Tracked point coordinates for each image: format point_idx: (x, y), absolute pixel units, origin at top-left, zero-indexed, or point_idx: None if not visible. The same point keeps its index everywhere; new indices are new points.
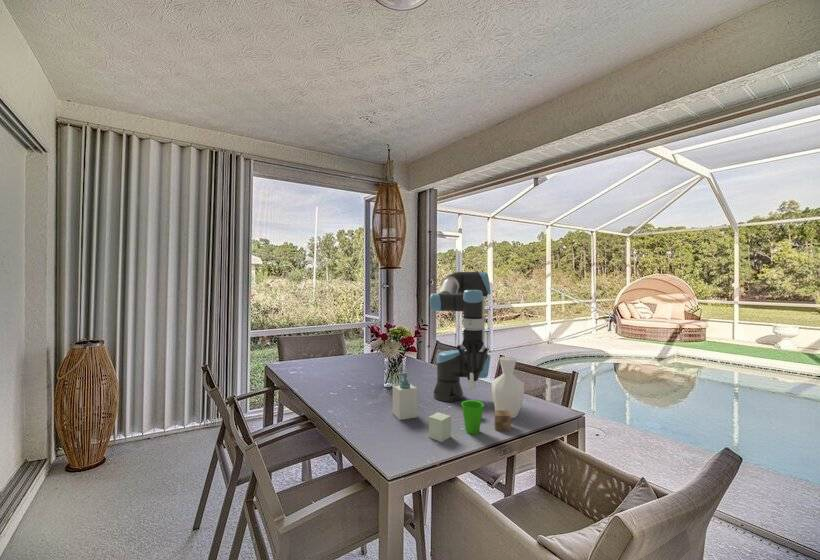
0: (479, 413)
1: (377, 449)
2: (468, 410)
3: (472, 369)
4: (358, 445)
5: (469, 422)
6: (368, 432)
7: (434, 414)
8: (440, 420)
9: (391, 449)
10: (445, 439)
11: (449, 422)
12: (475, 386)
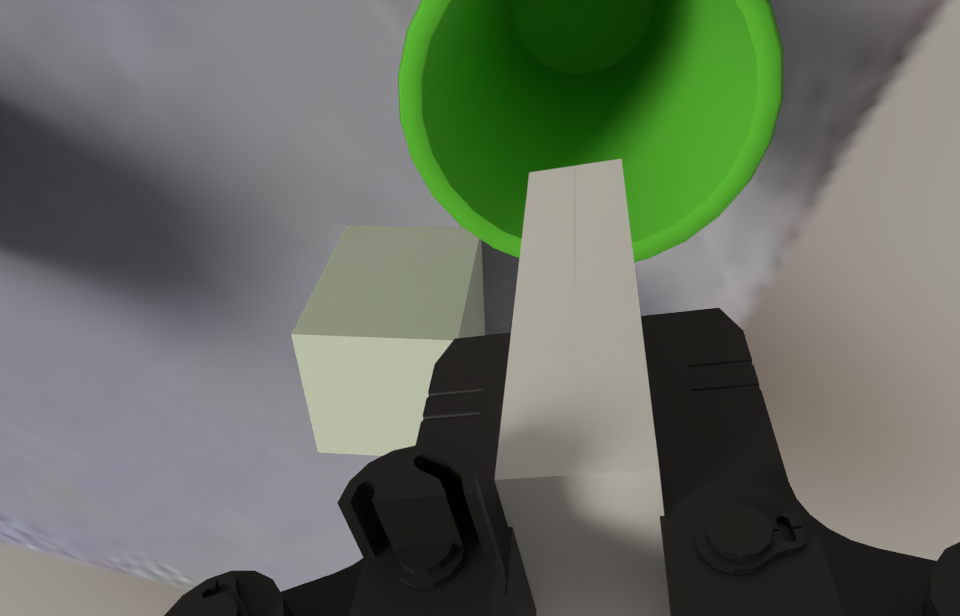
0: (719, 113)
1: (285, 567)
2: None
3: (487, 524)
4: (187, 580)
5: (595, 139)
6: (58, 475)
7: (312, 393)
8: None
9: (334, 540)
10: (483, 297)
11: (465, 323)
12: (623, 188)
